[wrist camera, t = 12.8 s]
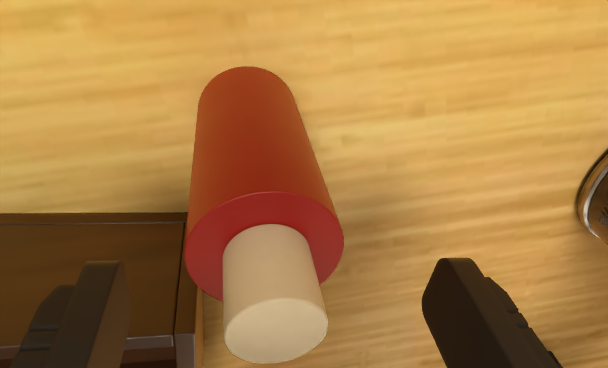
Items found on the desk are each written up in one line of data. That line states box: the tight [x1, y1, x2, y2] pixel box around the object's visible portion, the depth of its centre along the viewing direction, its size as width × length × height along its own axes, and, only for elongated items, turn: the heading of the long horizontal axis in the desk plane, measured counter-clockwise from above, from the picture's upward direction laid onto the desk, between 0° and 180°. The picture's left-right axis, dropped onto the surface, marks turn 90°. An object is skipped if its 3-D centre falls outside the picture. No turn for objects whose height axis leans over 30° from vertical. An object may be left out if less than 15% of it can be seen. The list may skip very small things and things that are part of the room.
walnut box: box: [0, 213, 204, 368], centre depth 20 cm, size 13×16×7 cm
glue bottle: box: [184, 67, 344, 364], centre depth 14 cm, size 4×4×12 cm
